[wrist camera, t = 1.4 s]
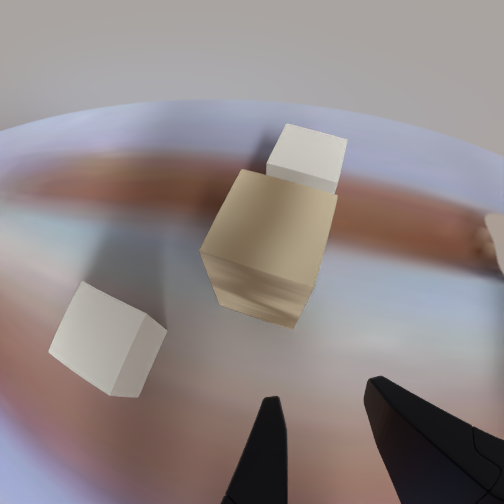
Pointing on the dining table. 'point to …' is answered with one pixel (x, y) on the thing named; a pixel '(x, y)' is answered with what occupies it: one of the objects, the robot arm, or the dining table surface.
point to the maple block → (268, 246)
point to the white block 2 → (307, 158)
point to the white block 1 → (107, 342)
